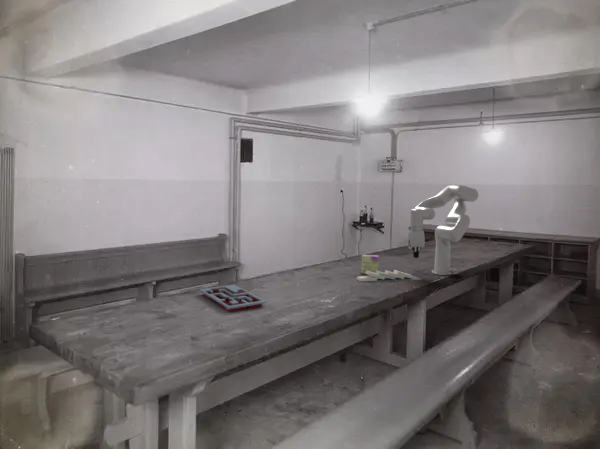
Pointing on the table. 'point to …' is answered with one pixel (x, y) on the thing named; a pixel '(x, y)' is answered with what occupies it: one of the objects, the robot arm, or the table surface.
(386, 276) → the domino
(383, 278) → the domino
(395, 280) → the mat
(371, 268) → the box
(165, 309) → the table surface
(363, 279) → the domino
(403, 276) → the domino
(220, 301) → the maze game
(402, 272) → the domino
